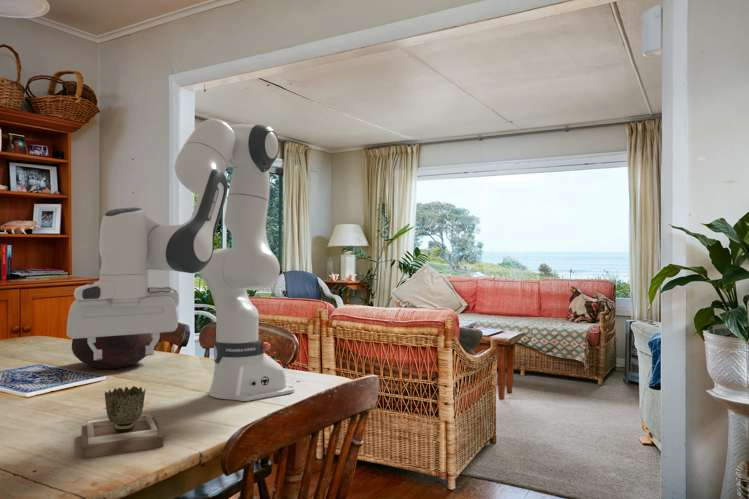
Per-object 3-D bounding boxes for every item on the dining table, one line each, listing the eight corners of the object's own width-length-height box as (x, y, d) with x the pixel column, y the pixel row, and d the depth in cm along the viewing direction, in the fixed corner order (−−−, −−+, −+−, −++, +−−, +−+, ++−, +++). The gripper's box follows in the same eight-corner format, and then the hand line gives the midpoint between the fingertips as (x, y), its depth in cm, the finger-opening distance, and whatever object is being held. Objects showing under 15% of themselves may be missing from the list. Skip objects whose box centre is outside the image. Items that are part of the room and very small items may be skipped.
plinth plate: (154, 425, 118) (154, 412, 118) (163, 446, 106) (163, 431, 106) (81, 435, 112) (81, 420, 112) (81, 458, 99) (82, 442, 99)
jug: (112, 356, 195) (113, 286, 195) (171, 361, 187) (172, 288, 188) (51, 370, 172) (53, 290, 172) (115, 376, 164) (117, 293, 164)
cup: (98, 430, 109) (99, 389, 109) (135, 422, 114) (136, 384, 114) (111, 439, 104) (112, 397, 104) (150, 430, 109) (151, 390, 109)
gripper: (176, 285, 117) (176, 349, 117) (66, 289, 107) (67, 359, 107) (181, 287, 111) (181, 355, 111) (66, 291, 101) (66, 365, 102)
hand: (124, 357), depth 109 cm, fingers open, 8 cm apart
